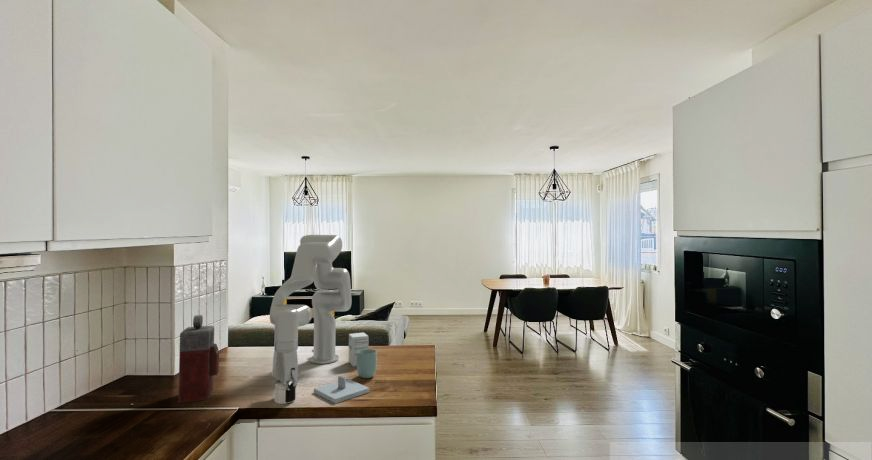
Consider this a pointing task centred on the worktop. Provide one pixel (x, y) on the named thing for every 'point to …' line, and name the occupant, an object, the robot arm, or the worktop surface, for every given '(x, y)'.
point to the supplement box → (357, 346)
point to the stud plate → (341, 390)
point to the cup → (366, 363)
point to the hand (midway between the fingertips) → (285, 397)
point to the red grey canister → (197, 361)
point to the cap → (281, 393)
